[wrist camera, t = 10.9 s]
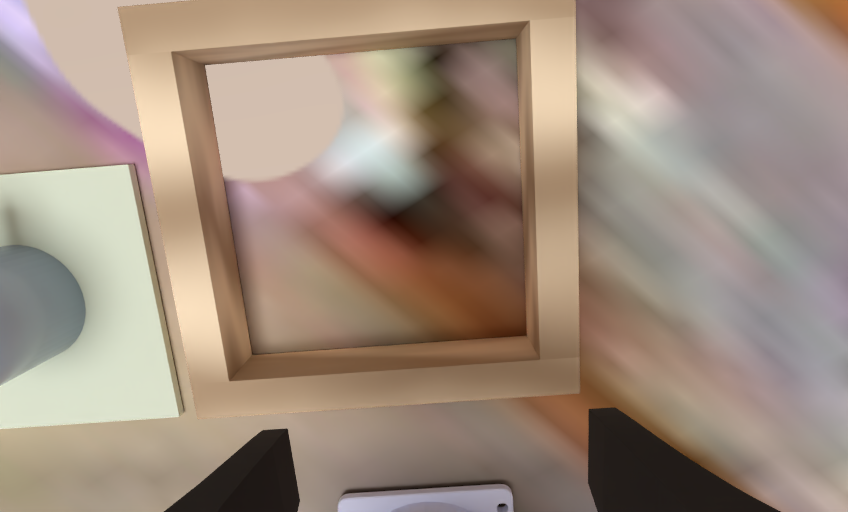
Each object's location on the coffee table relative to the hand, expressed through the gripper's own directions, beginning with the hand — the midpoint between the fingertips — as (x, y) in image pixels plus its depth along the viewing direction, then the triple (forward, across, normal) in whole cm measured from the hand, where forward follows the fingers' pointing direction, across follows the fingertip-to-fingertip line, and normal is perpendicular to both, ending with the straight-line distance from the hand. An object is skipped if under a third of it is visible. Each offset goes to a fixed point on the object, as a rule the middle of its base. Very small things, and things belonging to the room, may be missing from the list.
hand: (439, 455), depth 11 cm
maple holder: (+10, +2, -5) cm, 11 cm away
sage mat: (+9, +17, -2) cm, 20 cm away
